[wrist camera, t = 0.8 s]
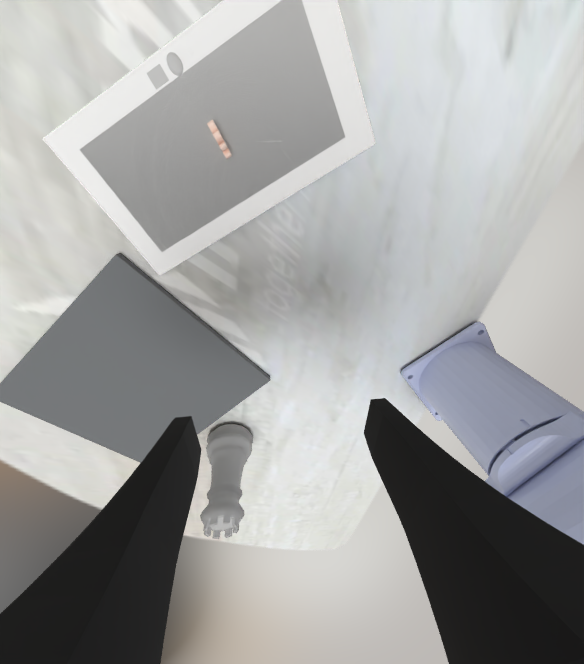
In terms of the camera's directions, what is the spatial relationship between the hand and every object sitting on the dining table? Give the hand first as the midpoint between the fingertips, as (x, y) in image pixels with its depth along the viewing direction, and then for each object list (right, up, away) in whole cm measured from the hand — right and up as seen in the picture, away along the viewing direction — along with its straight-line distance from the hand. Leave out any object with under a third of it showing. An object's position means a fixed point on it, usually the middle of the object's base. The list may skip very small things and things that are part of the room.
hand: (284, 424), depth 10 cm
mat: (-12, 0, +10) cm, 16 cm away
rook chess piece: (-6, -7, +15) cm, 17 cm away
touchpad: (-4, +14, +4) cm, 15 cm away
